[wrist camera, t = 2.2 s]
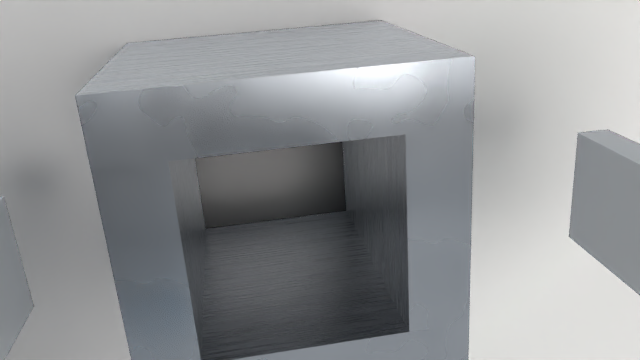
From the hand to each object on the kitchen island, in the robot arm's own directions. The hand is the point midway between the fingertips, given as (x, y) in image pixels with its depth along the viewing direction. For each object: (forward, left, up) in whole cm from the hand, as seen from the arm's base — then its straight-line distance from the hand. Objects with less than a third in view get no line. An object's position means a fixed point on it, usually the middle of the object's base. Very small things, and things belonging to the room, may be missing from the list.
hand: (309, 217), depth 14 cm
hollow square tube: (0, 0, -5) cm, 5 cm away
